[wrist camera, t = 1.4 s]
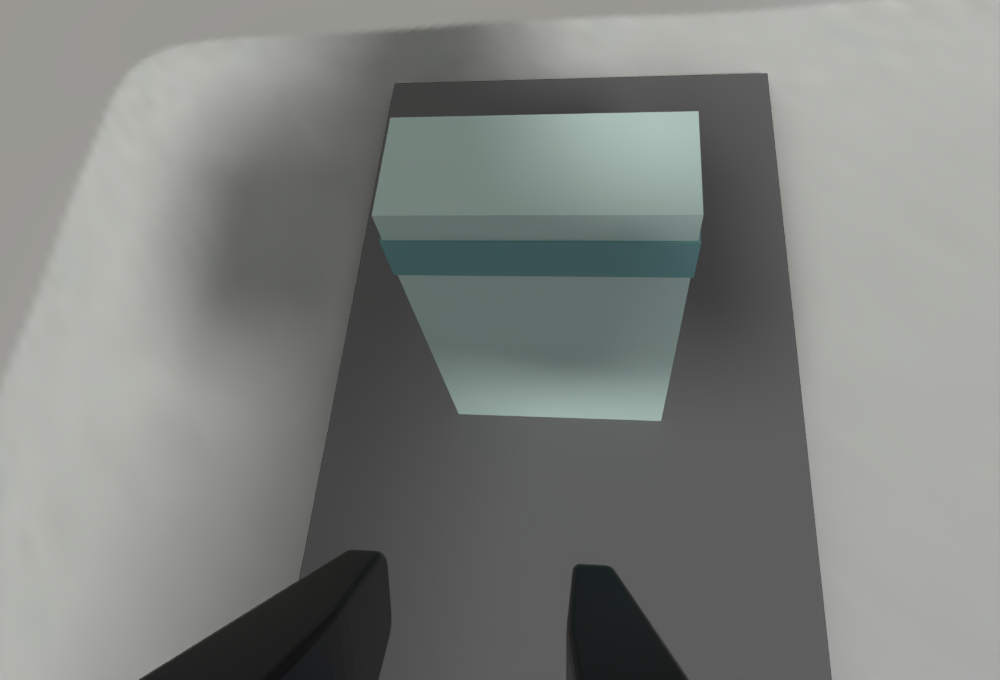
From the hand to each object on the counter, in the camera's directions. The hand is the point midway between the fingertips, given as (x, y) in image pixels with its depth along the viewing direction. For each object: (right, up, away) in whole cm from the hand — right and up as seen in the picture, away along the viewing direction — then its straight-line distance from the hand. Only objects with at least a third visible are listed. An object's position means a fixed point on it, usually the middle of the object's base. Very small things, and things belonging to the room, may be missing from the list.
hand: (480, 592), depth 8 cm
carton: (+2, +1, +15) cm, 15 cm away
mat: (+2, +1, +15) cm, 16 cm away
